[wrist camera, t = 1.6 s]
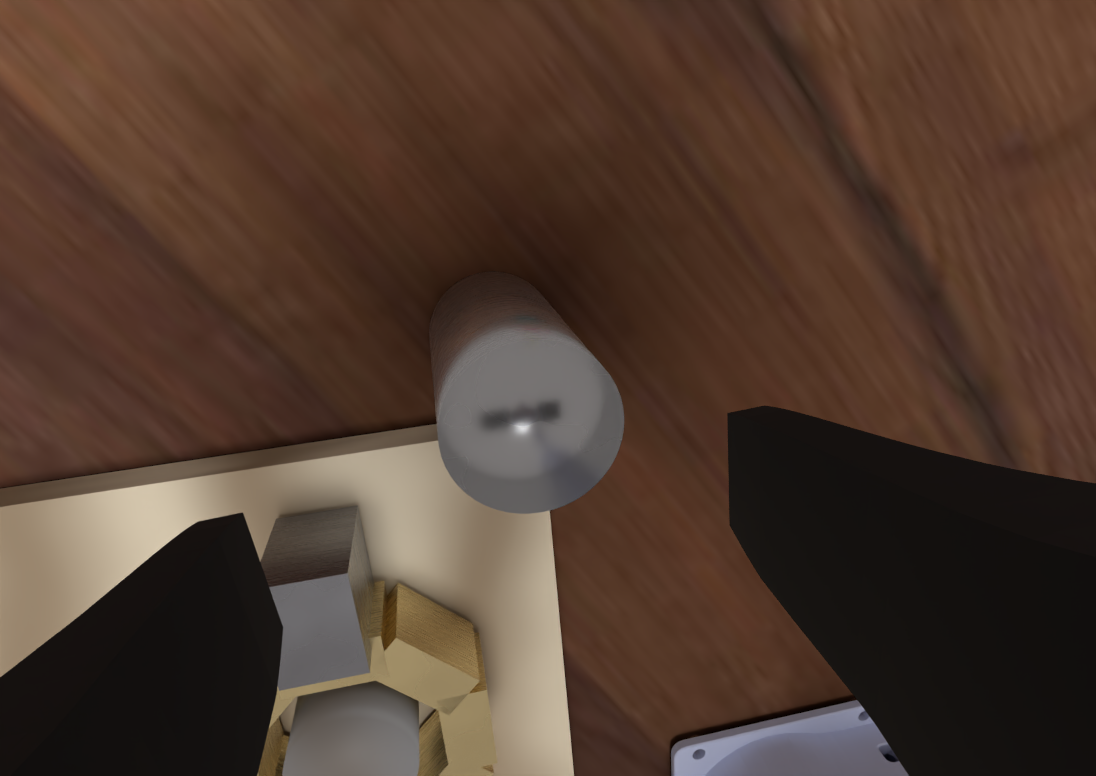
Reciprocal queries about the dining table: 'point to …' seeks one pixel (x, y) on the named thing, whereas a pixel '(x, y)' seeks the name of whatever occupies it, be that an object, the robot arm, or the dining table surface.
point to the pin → (518, 397)
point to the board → (395, 557)
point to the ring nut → (372, 642)
